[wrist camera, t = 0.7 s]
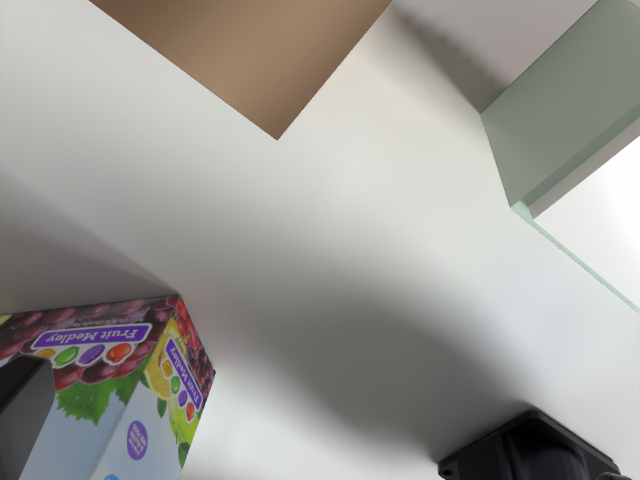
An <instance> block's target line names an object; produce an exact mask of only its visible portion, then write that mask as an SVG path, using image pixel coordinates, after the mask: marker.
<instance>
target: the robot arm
mask: <svg viewBox="0 0 640 480" xmlns="http://www.w3.org/2000/svg"><path fill="white" fill-rule="evenodd" d="M54 399H55V384H54V377H53V370H52V364H51V361H50V360H49V358H47V357H44V356H39V355H34V354H29V353H25V354H21V355H19V356H17V357H15V358H14V359H12V360H10V361H9V362H7V363H6V364H4V365H2V366H1V367H0V480H19V478H20V476H21V474H22V472H23V469H24V467H25V465H26V463H27V461H28V458H29V456H30V454H31V452H32V449H33V447H34V445H35V443H36V441H37V438H38V436H39V434H40V432H41V430H42V427H43V425H44V423H45V421H46V419H47V416H48V414H49V412H50V410H51V407H52V405H53V402H54ZM438 474H439V476H441V477H442V478H444V479H445V480H632V479H631V478H629V477H626V476H623V475H621V474H620V471H619V468H618V466H617V465H616V464H614V463H613V462H611V461H610V460H608V459H607V458H606V457H604V456H603V455H601V454H600V453H598V452H597V451H595V450H594V449H592V448H591V447H590V446H588V445H587V444H585V443H584V442H582V441H581V440H579V439H578V438H577V437H575V436H574V435H572V434H571V433H569V432H568V431H566V430H565V429H563V428H562V427H561V426H559V425H558V424H556V423H555V422H553V421H552V420H550V419H549V418H548V417H546V416H545V415H543V414H542V413H540V412H538V411H528V412H526V413H524V414H522V415H520V416H519V417H517V418H515V419H513V420H512V421H510V422H508V423H506V424H505V425H503V426H501V427H499V428H498V429H496V430H494V431H493V432H491V433H489V434H487V435H486V436H484V437H482V438H480V439H479V440H477V441H475V442H474V443H472V444H470V445H468V446H467V447H465V448H463V449H461V450H460V451H458V452H456V453H455V454H453V455H451V456H449V457H448V458H446V459H444V460H442V461H441V462H439V463H438Z"/></svg>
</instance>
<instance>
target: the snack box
mask: <svg viewBox="0 0 640 480" xmlns="http://www.w3.org/2000/svg"><path fill="white" fill-rule="evenodd" d="M25 353H29V354H34V355H39V356H44V357H47V358H49V360H50V361H51V364H52V370H53V377H54V384H55V399H54V402H53V405H52V407H51V410H50V412H49V414H48V416H47V419H46V421H45V423H44V425H43V427H42V430H41V432H40V434H39V436H38V438H37V441H36V443H35V445H34V447H33V449H32V452H31V454H30V456H29V458H28V461H27V463H26V465H25V467H24V469H23V472H22V474H21V476H20V478H19V480H178V479H179V476H180V473H181V471H182V468H183V465H184V463H185V460H186V457H187V454H188V451H189V448H190V446H191V443H192V440H193V437H194V434H195V431H196V429H197V426H198V423H199V420H200V418H201V415H202V412H203V409H204V406H205V404H206V401H207V398H208V395H209V392H210V389H211V386H212V383H213V380H214V377H215V374H216V371H215V370H214V369H213V367H212V365H211V363H210V361H209V359H208V357H207V354H206V353H205V350H204V348H203V346H202V343H201V341H200V339H199V337H198V334H197V332H196V330H195V328H194V326H193V323H192V321H191V319H190V316H189V314H188V312H187V309H186V307H185V305H184V302H183V300H182V298H181V296H178V295H172V296H164V297H156V298H149V299H139V300H130V301H120V302H112V303H102V304H98V305H87V306H78V307H69V308H61V309H52V310H41V311H34V312H25V313H18V314H10V315H0V367H1V366H2V365H4V364H6V363H7V362H9V361H10V360H12V359H14V358H15V357H17V356H19V355H21V354H25Z"/></svg>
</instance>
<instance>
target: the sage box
mask: <svg viewBox="0 0 640 480" xmlns="http://www.w3.org/2000/svg"><path fill="white" fill-rule="evenodd" d="M480 115H481V118H482V121H483V124H484V127H485V130H486V134H487V137H488V140H489V143H490V146H491V149H492V152H493V156H494V159H495V162H496V165H497V168H498V171H499V175H500V178H501V181H502V184H503V187H504V190H505V193H506V197H507V200H508V203H509V206H510V208H511V209H512V210H513V211H515V212H516V213H517V214H518V215H519V216H521V217H522V218H523V219H524V220H525V221H527V222H528V223H529V224H530V225H532V226H533V227H534V228H535V229H536V230H538V231H539V232H540V233H541V234H542V235H544V236H545V237H546V238H547V239H549V240H550V241H551V242H552V243H553V244H555V245H556V246H557V247H558V248H559V249H561V250H562V251H563V252H564V253H566V254H567V255H568V256H569V257H570V258H572V259H573V260H574V261H575V262H576V263H578V264H579V265H580V266H581V267H583V268H584V269H585V270H586V271H587V272H589V273H590V274H591V275H592V276H593V277H595V278H596V279H597V280H598V281H600V282H601V283H602V284H603V285H604V286H606V287H607V288H608V289H609V290H610V291H612V292H613V293H614V294H615V295H617V296H618V297H619V298H620V299H621V300H623V301H624V302H625V303H626V304H627V305H629V306H630V307H631V308H632V309H634V310H635V311H636V312H637V313H638V312H639V311H640V8H639V7H637V6H636V5H634V4H633V3H631V2H630V1H628V0H598V1H597V2H596V3H595V4H594V5H593V6H592V7H591V8H590V9H589V10H588V11H587V12H586V13H585V14H584V15H583V16H582V17H581V18H580V19H579V20H577V21H576V22H575V24H573V25H572V26H571V27H570V28H569V29H568V30H567V31H566V32H565V33H564V34H563V35H562V36H561V37H560V38H559V39H558V40H557V41H556V42H554V43H553V45H551V46H550V48H548V49H547V50H546V51H545V52H544V53H543V54H542V55H541V56H540V57H539V58H538V59H537V60H536V61H535V62H534V63H533V64H532V65H531V66H529V67H528V69H526V70H525V71H524V73H522V74H521V75H520V76H519V77H518V78H517V79H516V80H515V81H514V82H513V83H512V84H511V85H510V86H509V87H508V88H507V89H506V90H505V91H504V92H503V93H502V94H501V95H500V96H499V97H498V98H497V99H496V100H495V101H494V102H493V103H492V104H491V105H489V106H488V107H487V108H486V109H485V110H484V111H483V112H482V113H481V114H480Z"/></svg>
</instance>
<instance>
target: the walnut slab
mask: <svg viewBox="0 0 640 480" xmlns="http://www.w3.org/2000/svg"><path fill="white" fill-rule="evenodd" d="M89 1H90V2H92V3H93V4H94V5H96V6H97V7H98V8H100V9H101V10H102V11H104V12H105V13H106V14H108V15H109V16H110V17H112V18H113V19H115V20H116V21H117V22H119V23H120V24H121V25H123V26H124V27H125V28H127V29H128V30H129V31H131V32H132V33H133V34H135V35H136V36H137V37H139V38H140V39H141V40H143V41H144V42H145V43H147V44H148V45H149V46H151V47H152V48H153V49H155V50H156V51H157V52H159V53H160V54H162V55H163V56H164V57H166V58H167V59H168V60H170V61H171V62H172V63H174V64H175V65H176V66H178V67H179V68H180V69H182V70H183V71H184V72H186V73H187V74H188V75H190V76H191V77H192V78H194V79H195V80H196V81H198V82H199V83H200V84H202V85H203V86H204V87H206V88H207V89H209V90H210V91H211V92H213V93H214V94H215V95H217V96H218V97H219V98H221V99H222V100H223V101H225V102H226V103H227V104H229V105H230V106H231V107H233V108H234V109H235V110H237V111H238V112H239V113H241V114H242V115H243V116H245V117H246V118H247V119H249V120H250V121H251V122H253V123H254V124H256V125H257V126H258V127H260V128H261V129H262V130H264V131H265V132H266V133H268V134H269V135H270V136H272V137H273V138H274V139H276V140H278V139H279V138H280V137H281V136H282V134H283V133H284V132H285V131H286V129H287V128H288V127H289V126H290V125H291V123H292V122H293V121H294V120H295V118H296V117H297V116H298V115H299V114H300V112H301V111H302V110H303V109H304V107H305V106H306V105H307V104H308V103H309V101H310V100H311V99H312V98H313V96H314V95H315V94H316V93H317V92H318V90H319V89H320V88H321V87H322V86H323V84H324V83H325V82H326V81H327V79H328V78H329V77H330V76H331V75H332V73H333V72H334V71H335V70H336V68H337V67H338V66H339V65H340V64H341V62H342V61H343V60H344V59H345V57H346V56H347V55H348V54H349V53H350V51H351V50H352V49H353V48H354V46H355V45H356V44H357V43H358V42H359V40H360V39H361V38H362V37H363V35H364V34H365V33H366V32H367V31H368V29H369V28H370V27H371V26H372V25H373V23H374V22H375V21H376V20H377V18H378V17H379V16H380V15H381V14H382V12H383V11H384V10H385V9H386V7H387V6H388V5H389V4H390V3H391V1H392V0H89Z"/></svg>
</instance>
